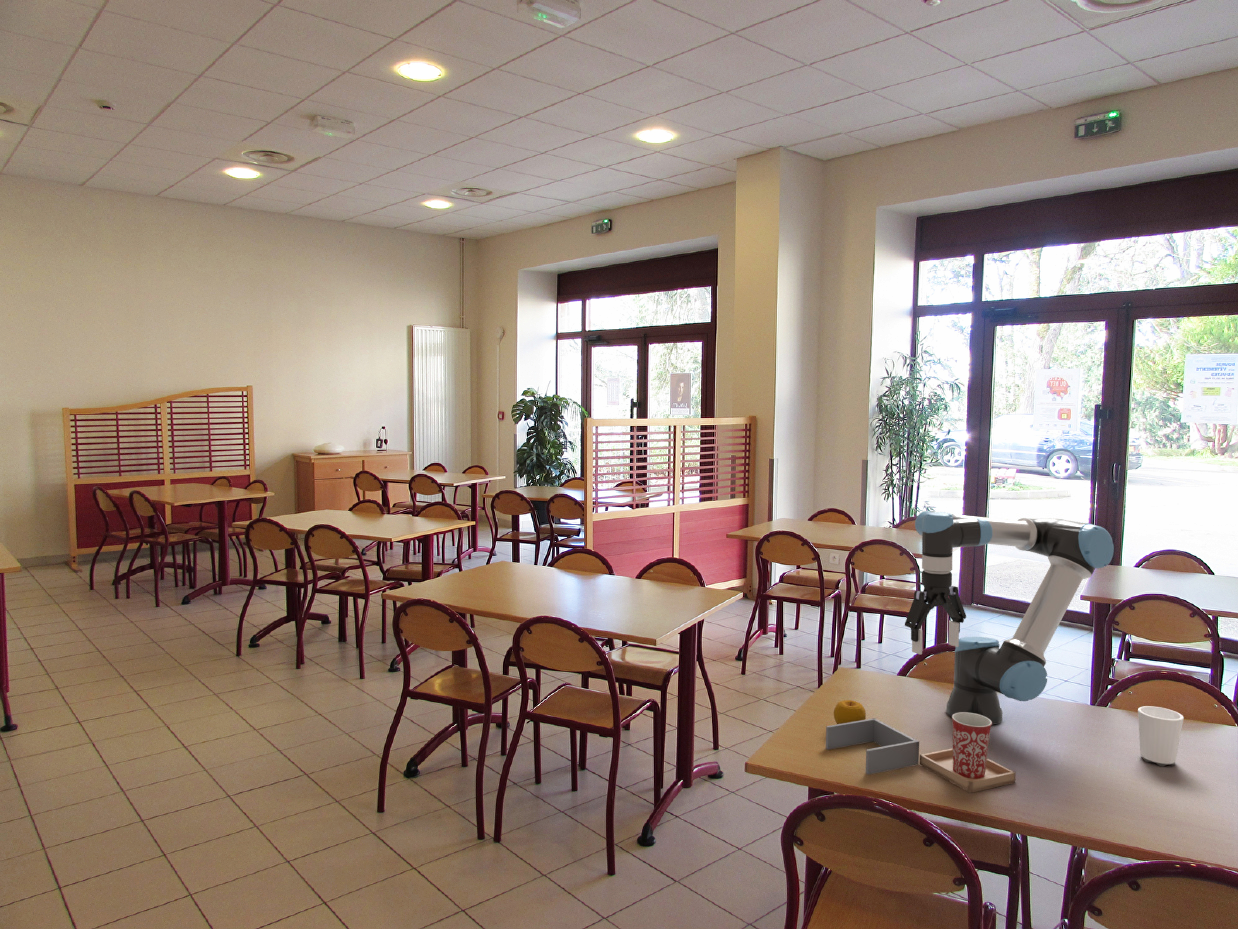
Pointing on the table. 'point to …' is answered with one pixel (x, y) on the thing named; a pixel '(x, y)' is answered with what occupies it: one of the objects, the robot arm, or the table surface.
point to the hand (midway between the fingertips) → (935, 649)
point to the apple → (849, 712)
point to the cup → (1159, 734)
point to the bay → (894, 743)
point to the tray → (944, 767)
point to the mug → (970, 744)
